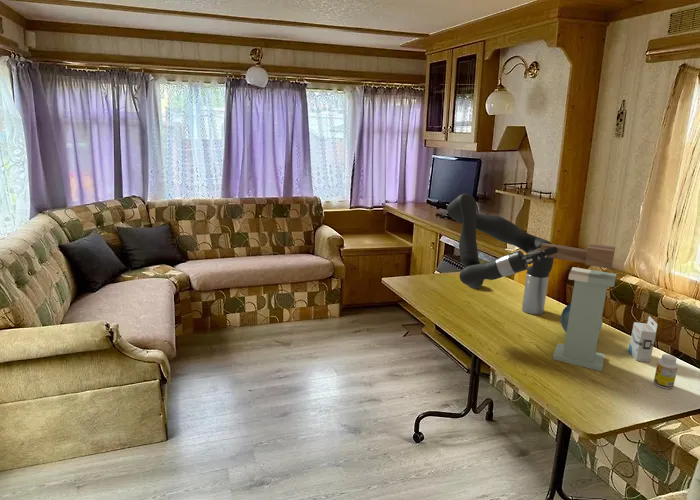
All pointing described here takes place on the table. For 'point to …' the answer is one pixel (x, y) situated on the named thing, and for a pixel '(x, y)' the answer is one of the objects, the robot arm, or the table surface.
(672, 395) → the table surface
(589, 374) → the table surface
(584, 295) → the stand
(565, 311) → the decorative ball
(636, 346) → the ink box
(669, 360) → the supplement bottle
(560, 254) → the walnut block
